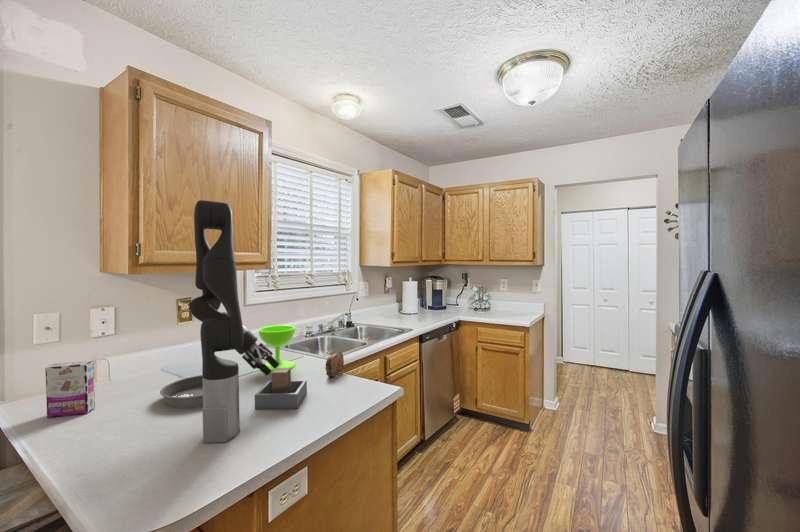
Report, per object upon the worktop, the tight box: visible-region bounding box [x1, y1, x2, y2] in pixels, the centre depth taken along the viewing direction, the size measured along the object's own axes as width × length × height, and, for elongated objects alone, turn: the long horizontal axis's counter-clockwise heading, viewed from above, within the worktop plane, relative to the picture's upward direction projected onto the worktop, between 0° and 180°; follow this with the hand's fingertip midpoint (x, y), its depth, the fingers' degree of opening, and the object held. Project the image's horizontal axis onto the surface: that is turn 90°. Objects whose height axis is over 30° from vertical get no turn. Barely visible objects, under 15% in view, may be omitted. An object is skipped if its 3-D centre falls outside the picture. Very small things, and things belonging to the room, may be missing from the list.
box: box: [254, 379, 308, 411], centre depth 128 cm, size 14×14×5 cm
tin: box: [325, 352, 345, 378], centre depth 158 cm, size 15×3×8 cm, turn 168°
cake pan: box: [159, 374, 203, 408], centre depth 134 cm, size 25×25×4 cm
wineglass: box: [258, 325, 297, 374], centre depth 168 cm, size 16×16×18 cm
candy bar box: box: [45, 360, 96, 419], centre depth 120 cm, size 11×5×16 cm, turn 105°
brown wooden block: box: [271, 368, 292, 394], centre depth 128 cm, size 5×5×10 cm
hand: (273, 369), depth 127 cm, fingers open, 8 cm apart
